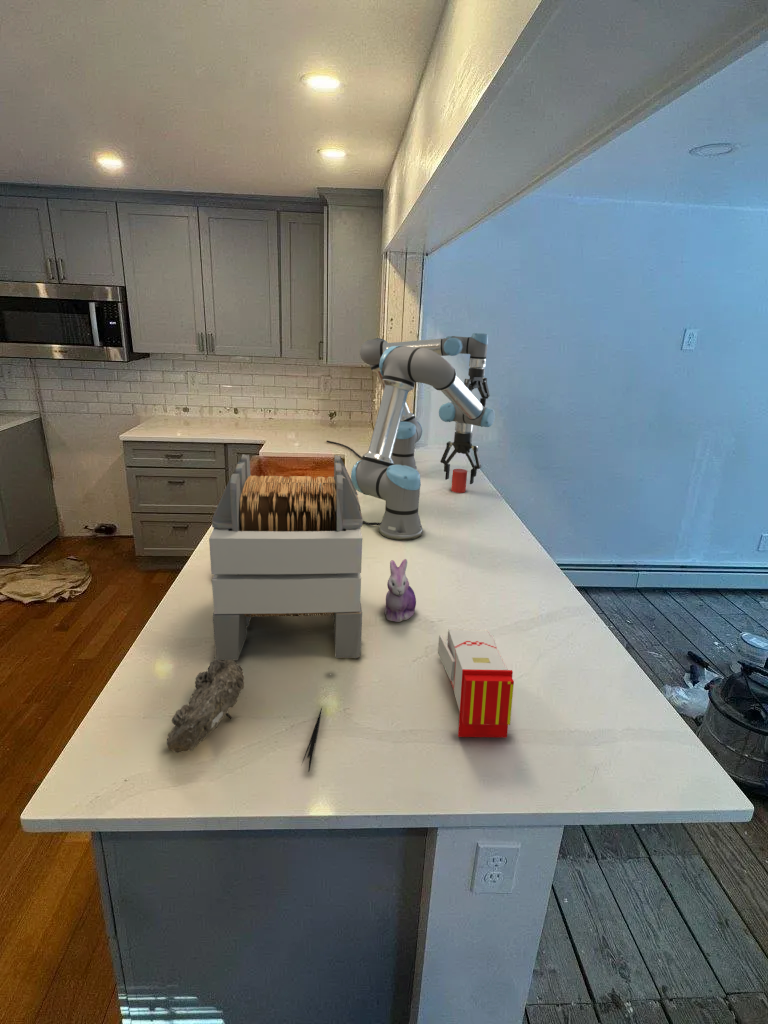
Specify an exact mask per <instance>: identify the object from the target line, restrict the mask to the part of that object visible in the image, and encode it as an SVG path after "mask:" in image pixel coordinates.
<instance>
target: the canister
mask: <svg viewBox="0 0 768 1024" xmlns="http://www.w3.org/2000/svg"><path fill="white" fill-rule="evenodd" d="M467 481H468V470H467V469H463V468H454V469H452V475H451V487H450V491H451V492H452V493H455V494H463V493H465V492H466V491H467V490H466V489H467Z"/></svg>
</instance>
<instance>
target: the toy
mask: <svg viewBox="0 0 768 1024" xmlns="http://www.w3.org/2000/svg"><path fill="white" fill-rule="evenodd" d="M446 640H447V643H446V641H445V639H444V636H443V635H442V634H439V637H438V646H437V656H438V657H439V659H440V661H441V663H442V666H443V668H444V670H445V672H446V674H447V677H448V679H449V681H450V684H451V687H452V690H453V693H454V697H455V701H456V705H457V708H458V711H459V714H458V715H459V716H458V730H457V731H458V732H457V737H458V738H508V731H509V726H510V725H511V717H512V707H513V697H514V696H513V695H514V684H515V680H514V679H513V673H514V671H513V670H512V669H508V667H507V665H506V662H505V661H504V659H503V658H502V655H501V653H500V651H499V649H498V647H497V643H496V639H495V637H494V635H493V634H491V632H490V631H489V629H467V628H466V629H465V628H463V629H461V628H460V629H459V628H448V630H447V639H446Z"/></svg>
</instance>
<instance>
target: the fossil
mask: <svg viewBox="0 0 768 1024" xmlns="http://www.w3.org/2000/svg"><path fill="white" fill-rule="evenodd" d="M243 670H244V669H243V667H242V665H240V664H237V662H236V660H232V659H231V660H228V659H227V660H221V661H217V660H215V659H212V660H211V661H210V663H209V665H208V666H207V671H201V672H199V673H198V674H197V675H196V676H195V680H194V684H195V685H194V687H195V689H194V690H193V693H192V694H191V697H190V698H189V700H188V704H184V705H182V706H181V707H180V709H177V710H176V711H175V713H174V715H173V716H172V718H171V723H172V724H173V727H172V730H171V731H170V732H168V734H167V738H166V741H167V742H166V745H167V749H168V750H169V751H173V752H174V753H176V754H178V753H182V752H188V751H189V752H192V751H193V750H195V748H196V747H197V746H199V744H200V743H201V742H203V741H204V740H205V739H206V738H207V737H208V736H209V735H210V734H211V733H212V732H214V730H215V729H217V727H218V726H219V724H220V722H221V721H222V720H223V719H224V718H225V716H226V717H227V719H229V720H233V717H232V715H230V714H229V710H230V709H231V708H234V706H235V704H236V703H237V702H238V699H239V697H240V695H241V693H242V691H243V690H245V689H244V688H245V675H244V671H243Z"/></svg>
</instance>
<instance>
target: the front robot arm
mask: <svg viewBox="0 0 768 1024" xmlns="http://www.w3.org/2000/svg"><path fill="white" fill-rule="evenodd" d="M379 368H380V373H381V375H382V376H383V379H382V381H383V383H384V385H385V388H384V392H383V393H382V396H381V400H380V404H379V407H378V412H377V416H376V419H375V424H374V427H373V431H372V434H371V439H370V443H369V446H368V451H366V452H365V453H364V454H362V456H361V457H362V459H360V460H358V461H356V462H355V463H354V464H353V467H352V469H351V473H350V478H351V481H352V483H353V485H354V487H355V489H356V492H358V493H361V494H363V495H365V496H370V497H372V498H376V499H380V500H383V501H385V504H384V505H385V507H384V508H385V509H384V513H383V515H382V519H381V522H375V521H374V522H373V521H371V522H370V521H365V520H363V524H362V525H367V526H378V533H379V534H380V535H381V536H382V537H385V538H387V539H389V540H395V541H410V540H415V539H418V538H420V537H421V536H422V535H423V525H422V524H421V518H420V515H419V507H420V506H419V505H420V494H421V493H420V492H421V486H422V485H421V474H420V472H419V471H418V469H417V470H416V469H414V468H412V467H409V466H406V465H394V462H393V461H392V458H391V456H392V453H393V449H394V445H395V441H396V437H397V433H398V430H399V426H400V422H401V418H402V414H403V410H404V407H405V403H407V398H408V395H409V393H410V392H411V391H412V390H414V388H415V385H416V383H418V384H419V383H420V384H425V385H428V386H431V387H432V388H433V389H435V391H440V392H441V393H442V394H443V395H444V396H445V397H446V398H447V399H448V400H449V401H450V402H449V401H448V402H445V403H442V405H440V407H439V409H438V417H439V418H440V420H441V421H442V422H445V423H451V422H455V424H454V425H455V426H454V437H453V442H452V441H447V442H446V446H445V450H444V452H443V454H442V457H441V459H440V461H439V462H440V463H441V464H443V472H445V476H444V480H445V481H446V480H449V479H450V471H451V470H450V469H451V468H450V467H451V464H450V462H451V461H452V460H453V458H454V457H455V455H456V454H463V455H465V456H466V457H467V459H468V462H469V463H470V465H471V467H472V468H471V469H470V476H469V485H472V484H474V480H475V477H476V476H477V471H478V470H480V469H482V462H481V458H480V457H481V456H480V454H479V453H480V452H479V445H473V444H472V442H473V431H474V426H476V427H481V428H483V427H484V428H490V427H491V426H492V425H493V424H494V423H495V420H496V412H495V410H494V409H493V408H491V407H488V406H487V407H486V406H485V407H484V406H483V405H482V404H481V403H480V400H479V399H478V398H477V397H476V396H475V395H474V394H473V393H472V391H471V392H470V391H469V389H468V388H467V387H466V386H465V385H464V382H463V381H462V380H461V379H460V377H458V376H457V371H456V369H455V368H454V367H453V366H452V364H451V363H450V362H448V360H447V359H445V357H444V356H440V355H439V354H437V353H436V352H434V351H432V350H429V349H426V348H416V347H408V346H392V347H389V348H388V349H387V350H385V352H384V353H383V354H382V356H381V359H380V363H379ZM452 447H453V450H452V452H451V453H450V450H451V448H452ZM471 450H472V452H473V455H472V452H471ZM449 453H450V454H449ZM448 454H449V456H448ZM473 456H474V457H473Z"/></svg>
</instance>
